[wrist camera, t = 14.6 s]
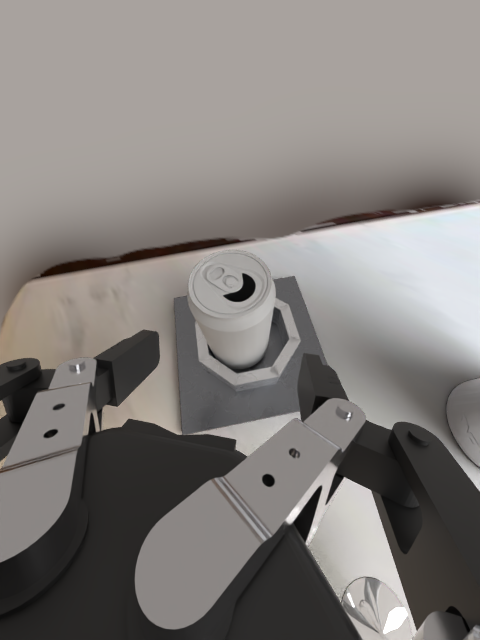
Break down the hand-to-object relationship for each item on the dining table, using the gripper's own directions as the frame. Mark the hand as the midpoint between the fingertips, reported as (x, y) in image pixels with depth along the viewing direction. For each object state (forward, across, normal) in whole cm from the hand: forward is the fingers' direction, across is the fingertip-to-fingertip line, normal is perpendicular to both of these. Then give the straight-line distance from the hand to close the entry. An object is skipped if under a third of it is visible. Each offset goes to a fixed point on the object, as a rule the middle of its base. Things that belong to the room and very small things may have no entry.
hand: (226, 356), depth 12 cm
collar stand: (+13, 0, +6) cm, 14 cm away
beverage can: (+13, +1, +5) cm, 14 cm away
